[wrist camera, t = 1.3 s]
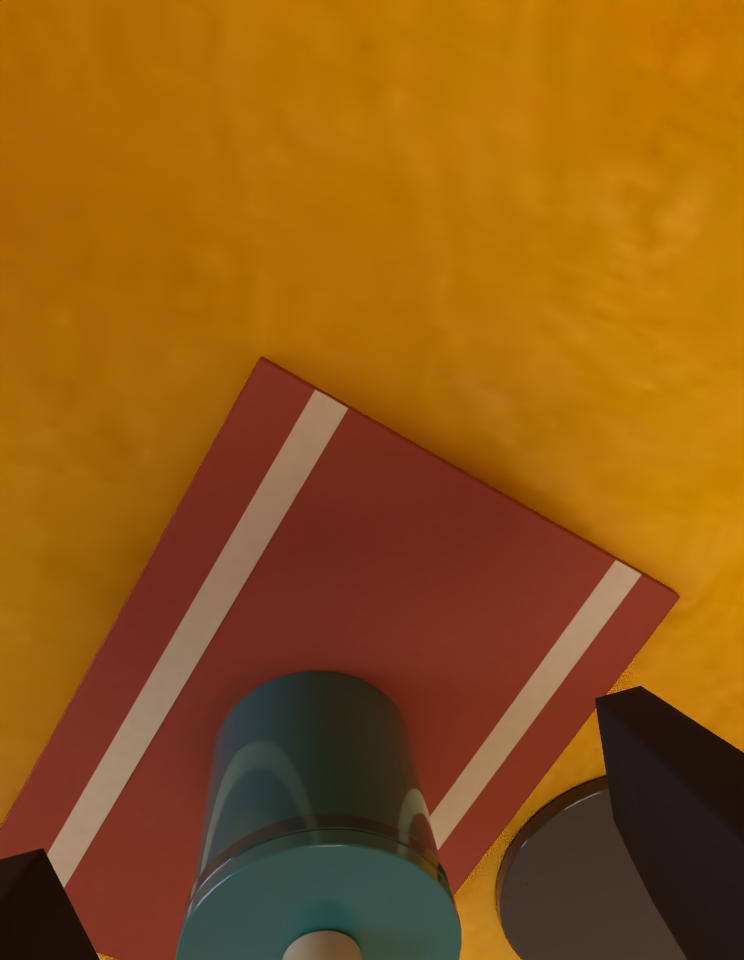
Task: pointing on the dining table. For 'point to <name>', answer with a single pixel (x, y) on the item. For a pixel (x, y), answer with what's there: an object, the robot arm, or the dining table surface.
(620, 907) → the polished metal trivet
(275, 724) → the pot
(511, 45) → the dining table surface
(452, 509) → the tea towel
